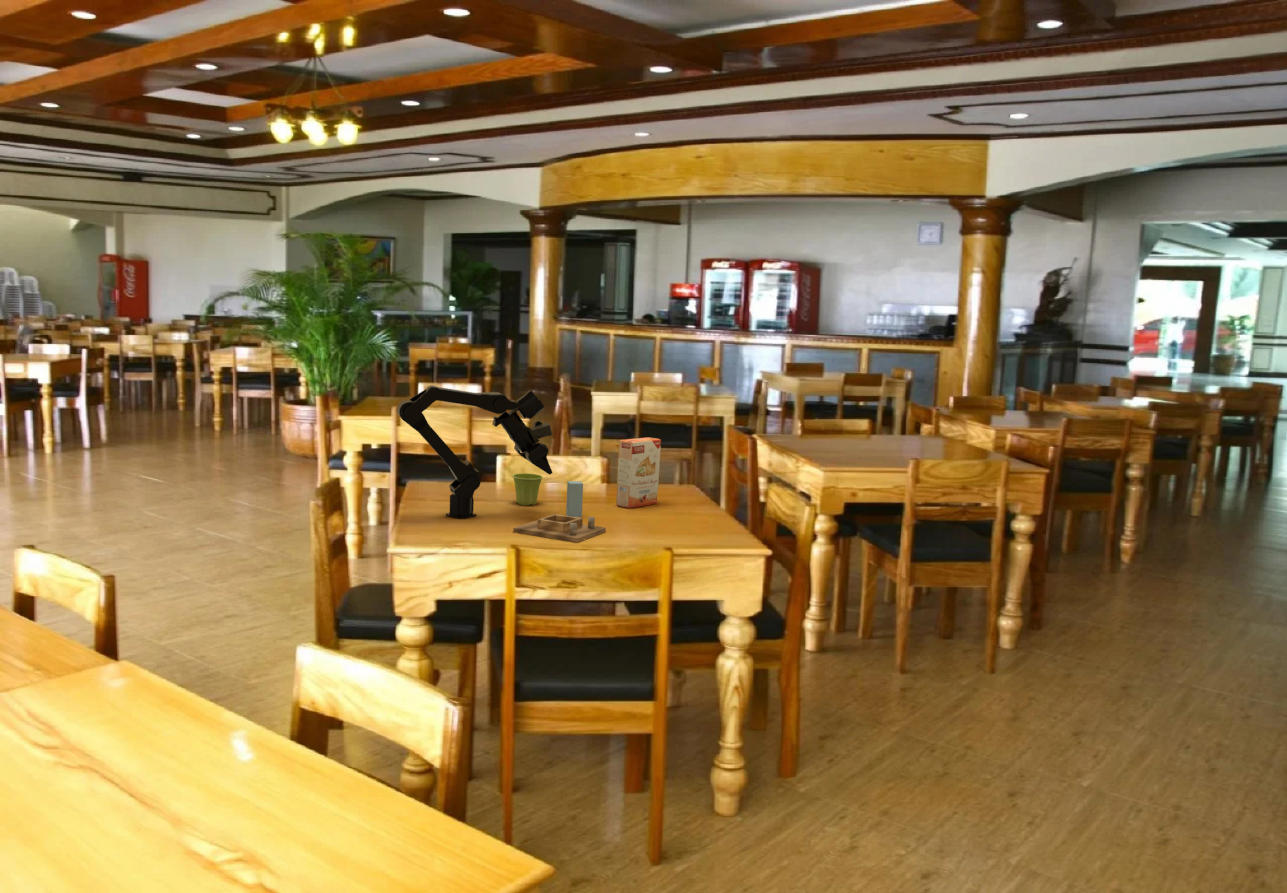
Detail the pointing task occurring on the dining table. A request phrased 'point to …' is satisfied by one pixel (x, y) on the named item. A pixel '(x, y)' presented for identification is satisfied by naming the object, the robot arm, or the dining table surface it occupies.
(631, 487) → the cracker box
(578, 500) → the pale gray block
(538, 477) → the plant pot
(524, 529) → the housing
